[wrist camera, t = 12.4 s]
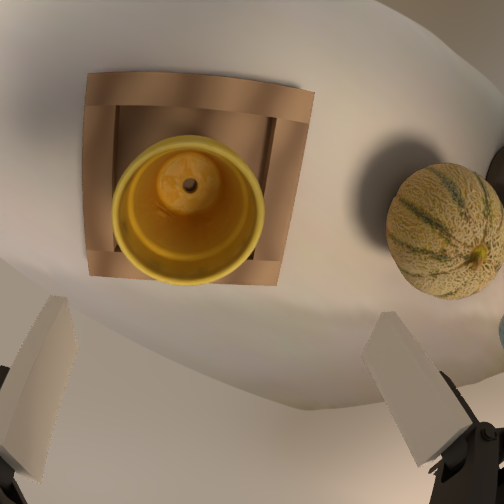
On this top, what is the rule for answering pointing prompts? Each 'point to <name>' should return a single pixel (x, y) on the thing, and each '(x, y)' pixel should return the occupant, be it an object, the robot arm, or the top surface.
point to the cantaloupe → (446, 231)
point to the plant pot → (187, 211)
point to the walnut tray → (200, 124)
